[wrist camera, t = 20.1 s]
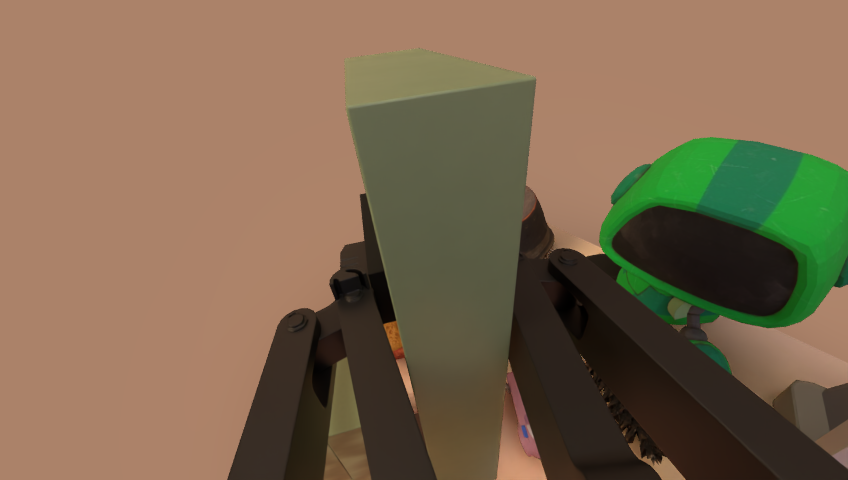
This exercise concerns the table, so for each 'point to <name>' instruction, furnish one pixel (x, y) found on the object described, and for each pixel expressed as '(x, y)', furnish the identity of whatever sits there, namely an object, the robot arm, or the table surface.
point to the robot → (728, 235)
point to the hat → (534, 228)
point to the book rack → (347, 432)
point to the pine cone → (628, 421)
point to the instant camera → (818, 415)
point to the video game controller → (522, 419)
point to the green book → (447, 232)
